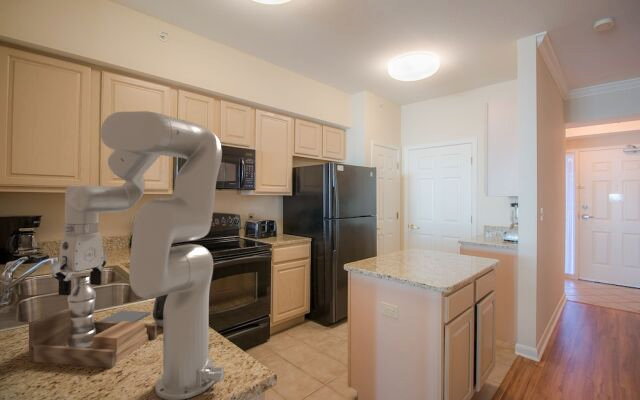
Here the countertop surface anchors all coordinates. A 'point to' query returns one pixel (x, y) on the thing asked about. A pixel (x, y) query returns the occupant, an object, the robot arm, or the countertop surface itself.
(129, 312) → the mat
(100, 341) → the offcut stack
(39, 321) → the rack
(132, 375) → the countertop surface
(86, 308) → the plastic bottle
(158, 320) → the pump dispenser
